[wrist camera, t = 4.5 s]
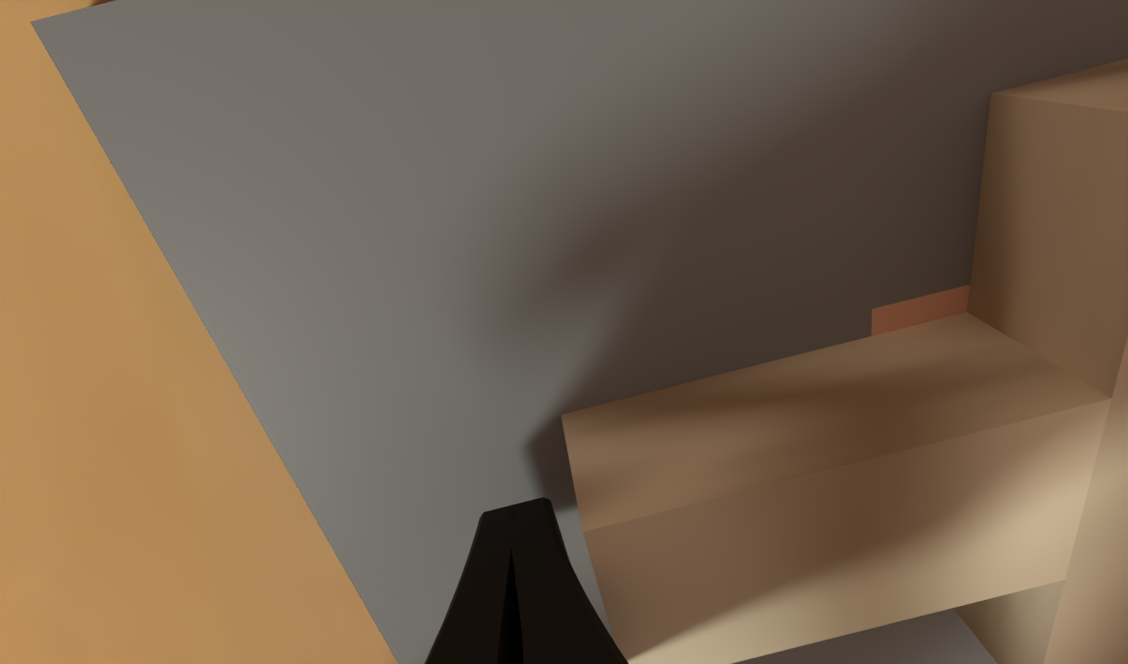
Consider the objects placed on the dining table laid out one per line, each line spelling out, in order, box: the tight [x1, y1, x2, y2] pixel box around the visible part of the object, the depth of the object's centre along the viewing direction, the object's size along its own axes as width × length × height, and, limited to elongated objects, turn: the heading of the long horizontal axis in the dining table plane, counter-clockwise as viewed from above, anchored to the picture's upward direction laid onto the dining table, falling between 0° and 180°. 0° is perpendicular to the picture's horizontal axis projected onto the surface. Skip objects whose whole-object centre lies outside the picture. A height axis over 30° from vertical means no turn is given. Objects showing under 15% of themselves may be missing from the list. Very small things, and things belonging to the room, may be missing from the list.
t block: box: [561, 59, 1128, 664], centre depth 11 cm, size 12×12×3 cm
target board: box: [31, 0, 1128, 664], centre depth 13 cm, size 28×20×1 cm
